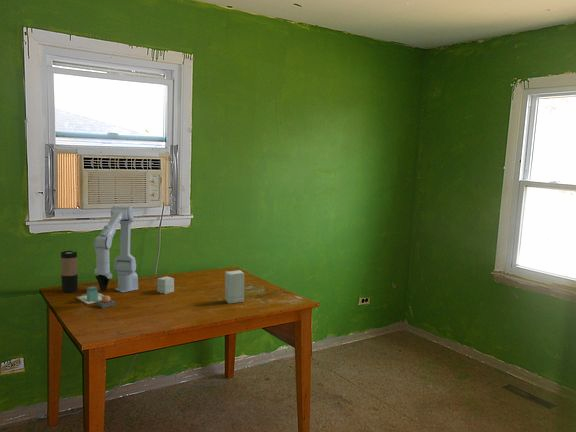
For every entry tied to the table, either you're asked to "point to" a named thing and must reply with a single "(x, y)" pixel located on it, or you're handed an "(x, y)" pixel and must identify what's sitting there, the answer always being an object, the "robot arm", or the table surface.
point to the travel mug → (69, 271)
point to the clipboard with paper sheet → (87, 302)
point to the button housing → (103, 305)
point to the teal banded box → (92, 293)
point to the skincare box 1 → (165, 285)
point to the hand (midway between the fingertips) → (103, 290)
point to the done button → (105, 299)
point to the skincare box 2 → (234, 286)
